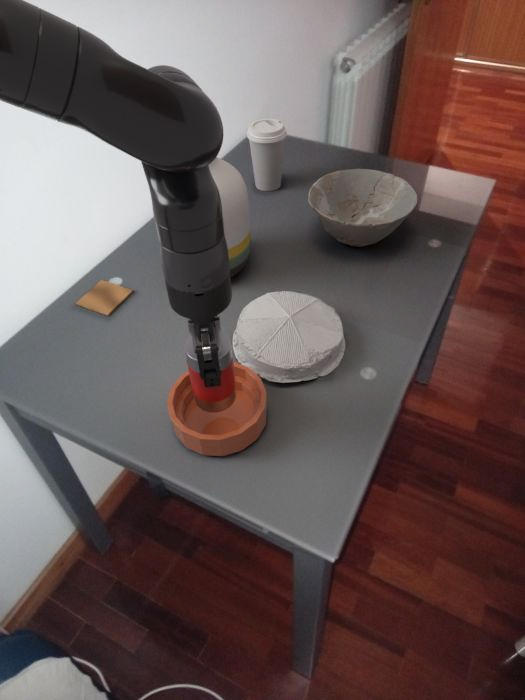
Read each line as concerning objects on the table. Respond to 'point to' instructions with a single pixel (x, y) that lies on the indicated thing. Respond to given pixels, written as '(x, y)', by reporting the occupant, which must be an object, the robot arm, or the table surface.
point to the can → (226, 392)
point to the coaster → (104, 297)
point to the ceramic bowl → (361, 204)
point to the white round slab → (289, 337)
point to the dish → (219, 416)
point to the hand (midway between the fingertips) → (211, 365)
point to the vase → (233, 212)
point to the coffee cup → (267, 152)
